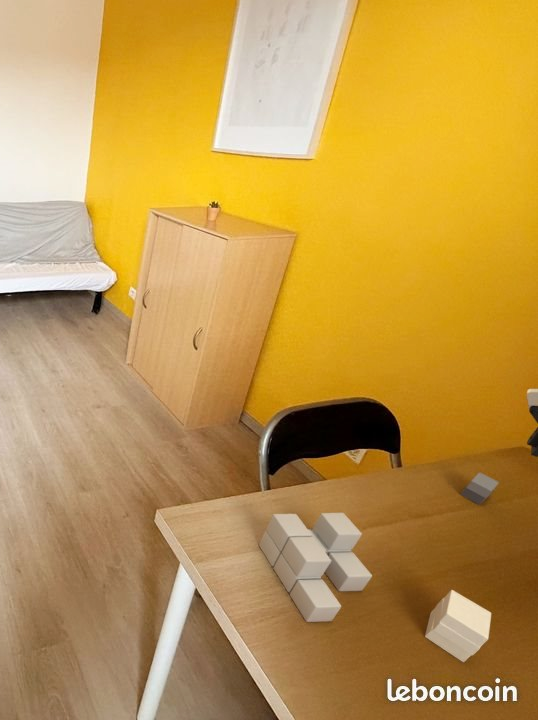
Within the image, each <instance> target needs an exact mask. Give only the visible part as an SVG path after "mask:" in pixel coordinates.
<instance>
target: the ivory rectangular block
mask: <svg viewBox="0 0 538 720" xmlns="http://www.w3.org/2000/svg"><path fill="white" fill-rule="evenodd" d="M444 598H445V597H442V599H441V600H440V601H439V602H438V603H437V604H436V605H435V607H434V608H433V609H432V610H431V612H430V613H429V617H428V621H427V625H426V630H425V634H424V638H426V639H428V640H429V641H430V642H432V644H433V643H434V645H437V647H439V648H441V649H442V650H444V651H445V652H447V653H448V654H450V656H453V657H454V658H456V659H458V660H459V661H461V662H462V663H465V662H466V661H467V660H468V659H469V658H470V657H471V656H474V655H475V654H476V653H477V652H478V651H479V650H480V649H481V647H482V646H481V647H479V646H477V645H476V644H474V643H473V642H471V641H470V640H468V639H466V638H465V637H463V636H462V635H460V634H459V633H457V632H455V631H454V630H452V629H451V628H449V627H448V626H446V625H444V624H443V623H441V622H440V621H439V620H440V616H441V611H442V607H443V602H444Z"/></svg>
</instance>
